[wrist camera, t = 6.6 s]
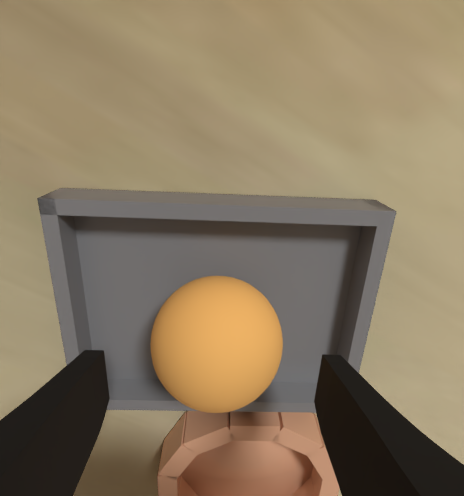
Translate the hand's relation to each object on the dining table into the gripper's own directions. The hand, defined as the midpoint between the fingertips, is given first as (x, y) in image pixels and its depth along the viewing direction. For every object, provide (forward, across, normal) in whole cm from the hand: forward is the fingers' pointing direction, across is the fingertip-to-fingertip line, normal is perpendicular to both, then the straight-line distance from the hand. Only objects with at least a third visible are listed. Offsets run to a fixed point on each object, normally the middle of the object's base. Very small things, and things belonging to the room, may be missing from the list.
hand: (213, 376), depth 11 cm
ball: (+2, 0, 0) cm, 2 cm away
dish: (+5, -2, +10) cm, 12 cm away
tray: (+5, 0, 0) cm, 5 cm away
